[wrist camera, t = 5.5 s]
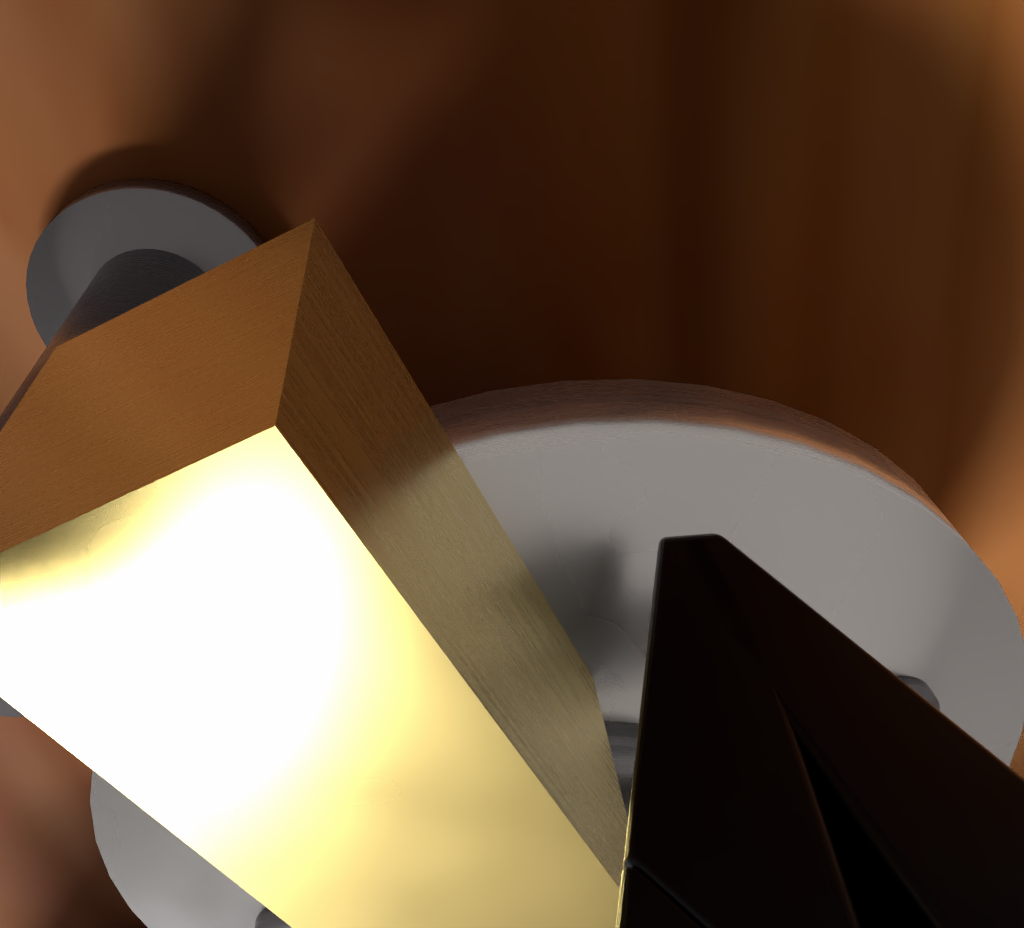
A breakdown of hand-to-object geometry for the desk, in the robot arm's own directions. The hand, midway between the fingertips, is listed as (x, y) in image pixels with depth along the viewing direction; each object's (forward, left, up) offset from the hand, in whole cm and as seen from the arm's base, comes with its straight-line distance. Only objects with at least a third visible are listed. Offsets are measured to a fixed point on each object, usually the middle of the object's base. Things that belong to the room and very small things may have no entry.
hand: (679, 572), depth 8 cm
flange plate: (-2, +4, -2) cm, 5 cm away
